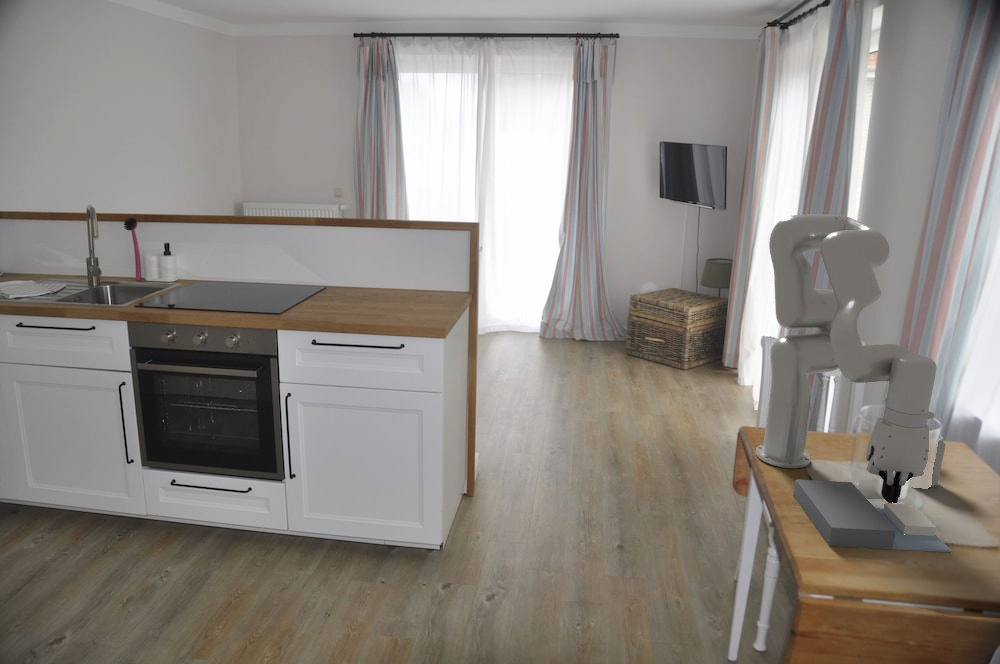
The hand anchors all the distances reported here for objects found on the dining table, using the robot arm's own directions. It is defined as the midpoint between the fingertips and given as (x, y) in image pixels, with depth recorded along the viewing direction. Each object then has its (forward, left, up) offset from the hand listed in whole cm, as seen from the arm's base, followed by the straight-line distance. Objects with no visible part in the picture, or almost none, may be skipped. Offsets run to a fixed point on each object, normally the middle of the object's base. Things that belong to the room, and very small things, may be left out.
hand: (889, 499), depth 142 cm
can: (-20, +17, -6) cm, 27 cm away
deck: (0, -9, -5) cm, 11 cm away
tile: (0, +4, -3) cm, 5 cm away
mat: (0, +2, -5) cm, 6 cm away
